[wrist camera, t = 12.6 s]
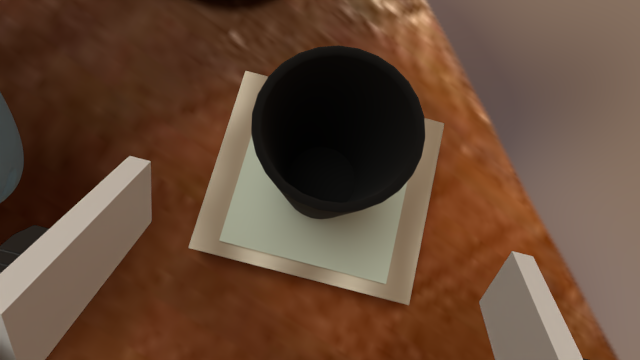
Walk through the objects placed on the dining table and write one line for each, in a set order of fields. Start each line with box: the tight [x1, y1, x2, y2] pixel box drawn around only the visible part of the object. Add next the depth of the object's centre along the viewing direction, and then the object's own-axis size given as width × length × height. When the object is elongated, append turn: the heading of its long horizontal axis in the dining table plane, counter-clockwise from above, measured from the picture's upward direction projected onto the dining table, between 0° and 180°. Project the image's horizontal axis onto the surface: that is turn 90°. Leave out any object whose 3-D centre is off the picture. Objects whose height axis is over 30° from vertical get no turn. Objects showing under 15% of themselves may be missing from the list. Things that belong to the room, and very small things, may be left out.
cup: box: [251, 46, 425, 219], centre depth 23 cm, size 8×8×12 cm
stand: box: [189, 71, 444, 305], centre depth 31 cm, size 16×14×4 cm
